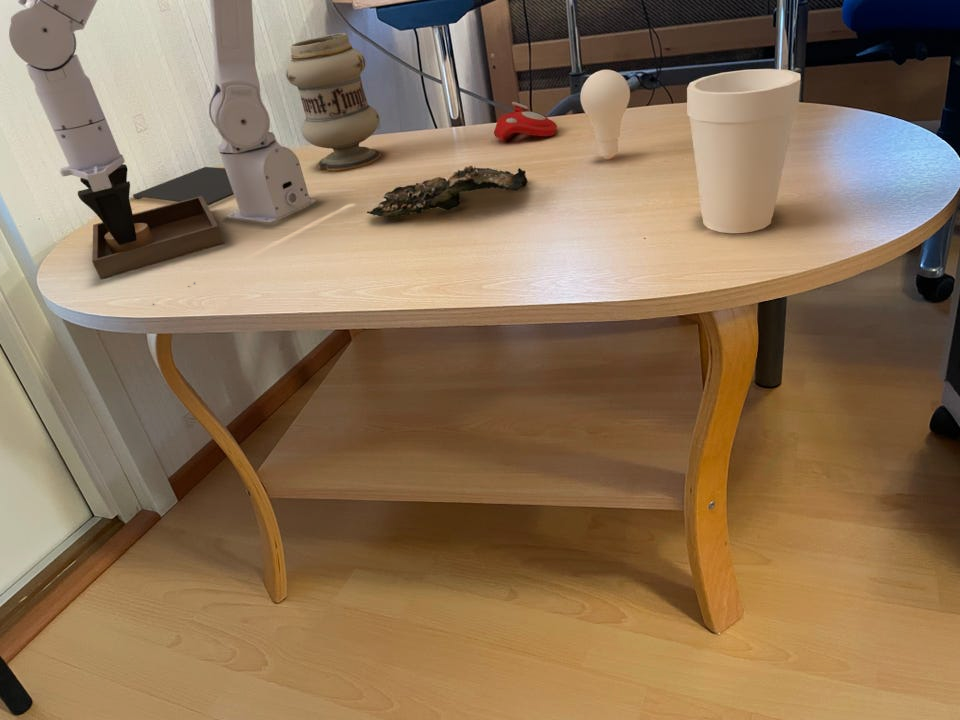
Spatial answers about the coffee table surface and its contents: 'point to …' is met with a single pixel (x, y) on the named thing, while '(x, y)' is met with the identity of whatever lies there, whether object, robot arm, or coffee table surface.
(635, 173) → the coffee table surface
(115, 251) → the wooden puck
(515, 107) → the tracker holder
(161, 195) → the mat
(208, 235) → the tray
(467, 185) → the tree bark
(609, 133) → the lightbulb
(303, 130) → the apothecary jar
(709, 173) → the foam cup
